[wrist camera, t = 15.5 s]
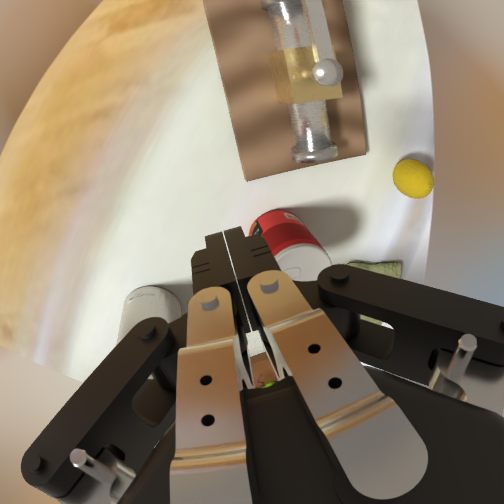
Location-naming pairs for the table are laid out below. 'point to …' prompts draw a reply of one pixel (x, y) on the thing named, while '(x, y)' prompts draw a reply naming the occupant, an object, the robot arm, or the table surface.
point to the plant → (262, 371)
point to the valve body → (300, 82)
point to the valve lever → (321, 45)
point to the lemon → (413, 178)
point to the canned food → (291, 245)
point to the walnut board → (263, 90)
